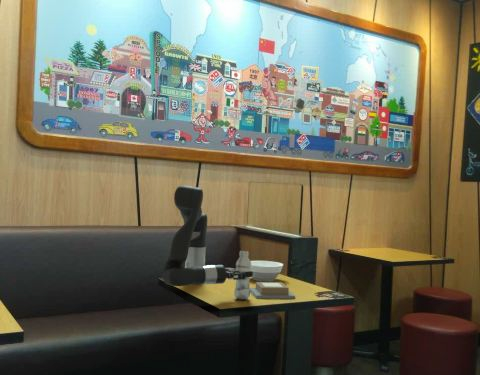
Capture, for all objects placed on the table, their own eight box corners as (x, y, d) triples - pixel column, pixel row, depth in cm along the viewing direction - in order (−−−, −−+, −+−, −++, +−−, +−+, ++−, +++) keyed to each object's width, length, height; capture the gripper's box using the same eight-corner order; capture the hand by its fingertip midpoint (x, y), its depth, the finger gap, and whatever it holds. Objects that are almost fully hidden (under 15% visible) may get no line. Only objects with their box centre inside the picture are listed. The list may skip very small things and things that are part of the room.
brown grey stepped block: (256, 298, 215) (256, 288, 215) (249, 290, 230) (249, 280, 230) (295, 298, 218) (295, 288, 218) (285, 290, 233) (286, 281, 233)
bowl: (268, 285, 246) (269, 267, 246) (236, 279, 257) (237, 262, 257) (289, 280, 261) (290, 264, 261) (258, 274, 273) (259, 259, 273)
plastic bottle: (240, 296, 216) (242, 249, 216) (253, 299, 212) (255, 251, 212) (230, 299, 211) (232, 250, 211) (243, 301, 207) (245, 252, 207)
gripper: (220, 268, 198) (257, 266, 207) (204, 262, 211) (239, 261, 219) (220, 287, 198) (256, 284, 207) (204, 280, 211) (239, 278, 219)
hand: (247, 272), depth 213 cm, fingers closed on plastic bottle, 6 cm apart
